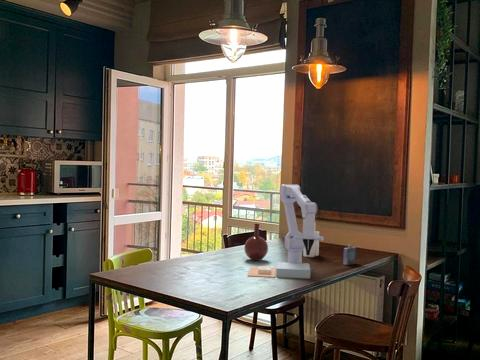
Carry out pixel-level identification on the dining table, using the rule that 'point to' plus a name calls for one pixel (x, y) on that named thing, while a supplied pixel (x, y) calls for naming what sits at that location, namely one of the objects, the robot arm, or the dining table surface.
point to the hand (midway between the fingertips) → (307, 254)
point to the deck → (293, 270)
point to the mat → (254, 273)
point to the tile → (264, 270)
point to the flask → (349, 255)
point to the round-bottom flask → (256, 246)
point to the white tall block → (313, 247)
